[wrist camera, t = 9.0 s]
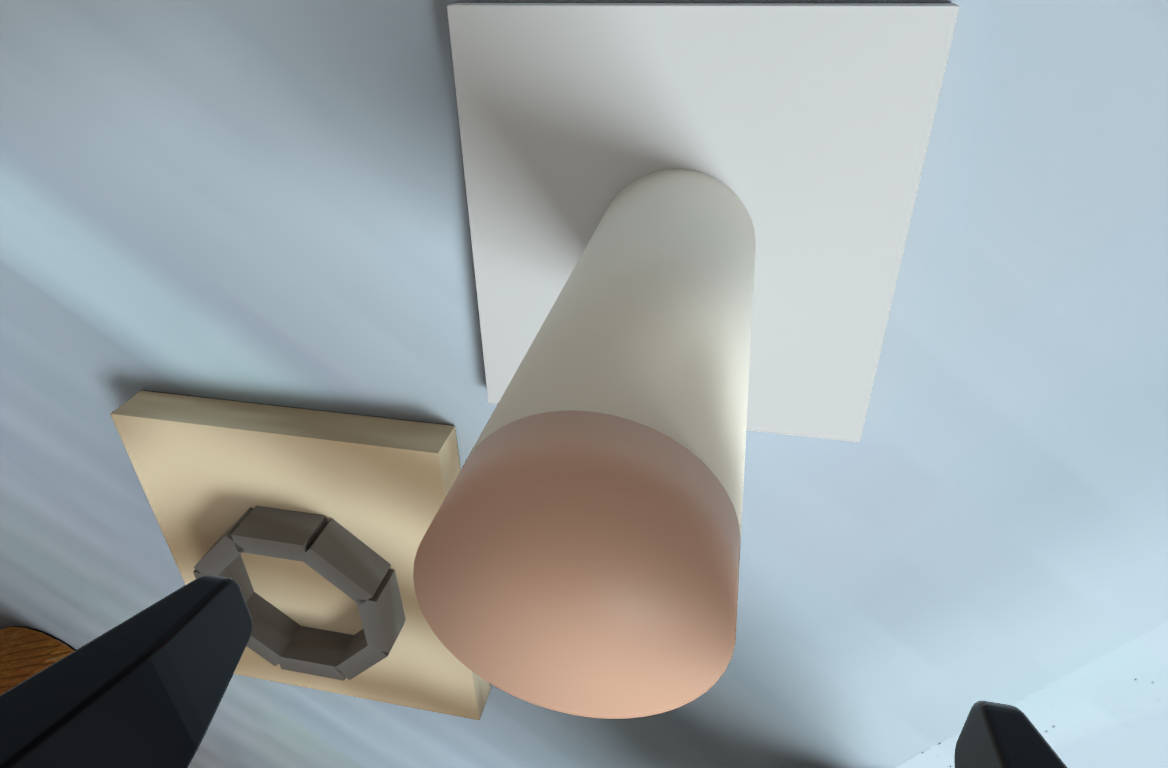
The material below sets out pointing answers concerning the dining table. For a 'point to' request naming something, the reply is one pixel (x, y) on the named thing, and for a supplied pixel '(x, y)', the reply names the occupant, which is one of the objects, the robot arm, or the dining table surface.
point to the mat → (706, 166)
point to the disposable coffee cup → (26, 655)
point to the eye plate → (308, 537)
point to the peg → (612, 472)
